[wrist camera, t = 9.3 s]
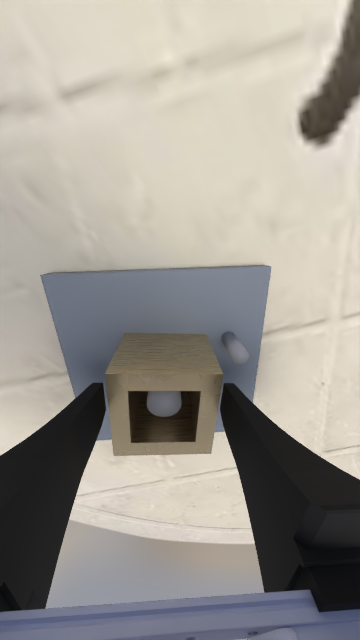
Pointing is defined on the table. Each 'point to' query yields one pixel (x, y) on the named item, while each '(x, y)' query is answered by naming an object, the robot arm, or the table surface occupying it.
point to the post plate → (159, 321)
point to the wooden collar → (163, 375)
